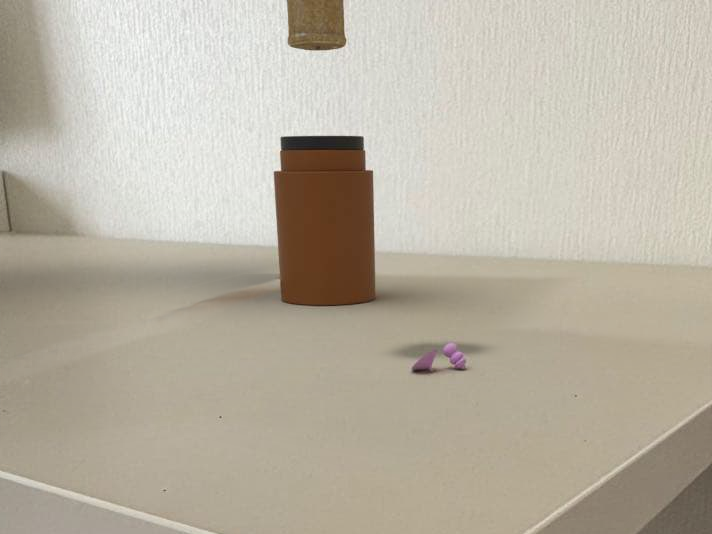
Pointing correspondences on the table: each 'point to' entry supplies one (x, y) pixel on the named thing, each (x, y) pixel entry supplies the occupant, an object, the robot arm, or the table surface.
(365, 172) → the amber bottle
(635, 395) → the table surface
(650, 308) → the table surface
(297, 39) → the sprinkles bottle
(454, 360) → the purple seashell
